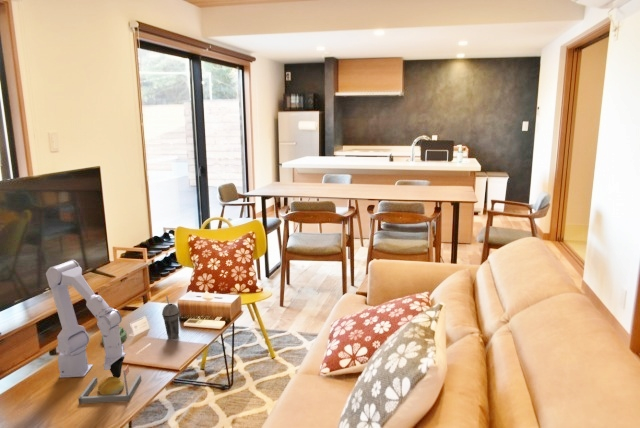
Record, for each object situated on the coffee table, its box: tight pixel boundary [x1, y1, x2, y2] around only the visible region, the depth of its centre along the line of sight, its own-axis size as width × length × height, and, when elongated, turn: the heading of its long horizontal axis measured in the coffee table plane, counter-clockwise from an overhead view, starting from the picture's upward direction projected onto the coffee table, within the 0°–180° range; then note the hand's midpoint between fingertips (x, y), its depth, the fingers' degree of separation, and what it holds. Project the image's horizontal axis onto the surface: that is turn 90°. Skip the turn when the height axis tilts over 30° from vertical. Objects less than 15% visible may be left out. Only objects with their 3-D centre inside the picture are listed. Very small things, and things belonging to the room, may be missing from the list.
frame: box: [78, 364, 142, 405], centre depth 169 cm, size 17×13×12 cm
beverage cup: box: [161, 295, 180, 341], centre depth 207 cm, size 7×7×20 cm
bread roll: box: [97, 376, 125, 396], centre depth 171 cm, size 8×9×4 cm
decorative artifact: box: [101, 326, 128, 345], centre depth 208 cm, size 10×7×10 cm
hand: (117, 376), depth 176 cm, fingers closed
